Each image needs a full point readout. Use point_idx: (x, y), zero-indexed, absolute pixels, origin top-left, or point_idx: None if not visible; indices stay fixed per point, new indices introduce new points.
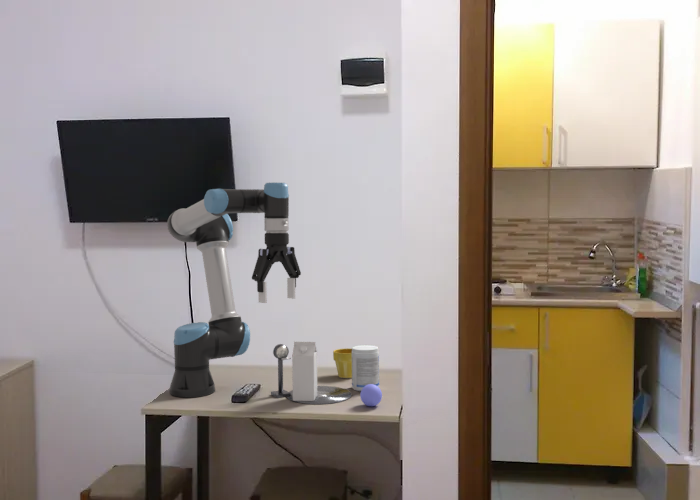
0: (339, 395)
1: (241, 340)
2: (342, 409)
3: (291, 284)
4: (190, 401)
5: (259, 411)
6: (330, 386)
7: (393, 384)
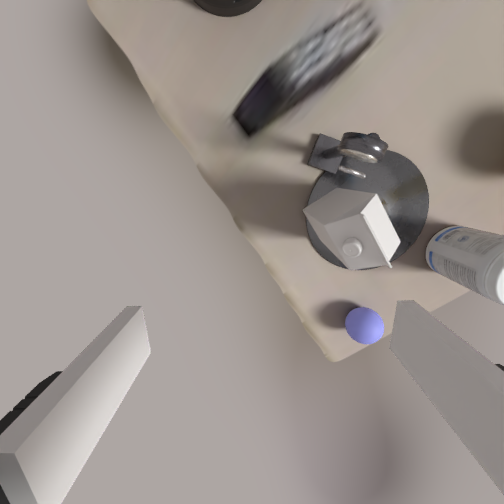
0: None
1: None
2: (316, 295)
3: (469, 420)
4: (177, 30)
5: (225, 204)
6: (427, 192)
7: None
